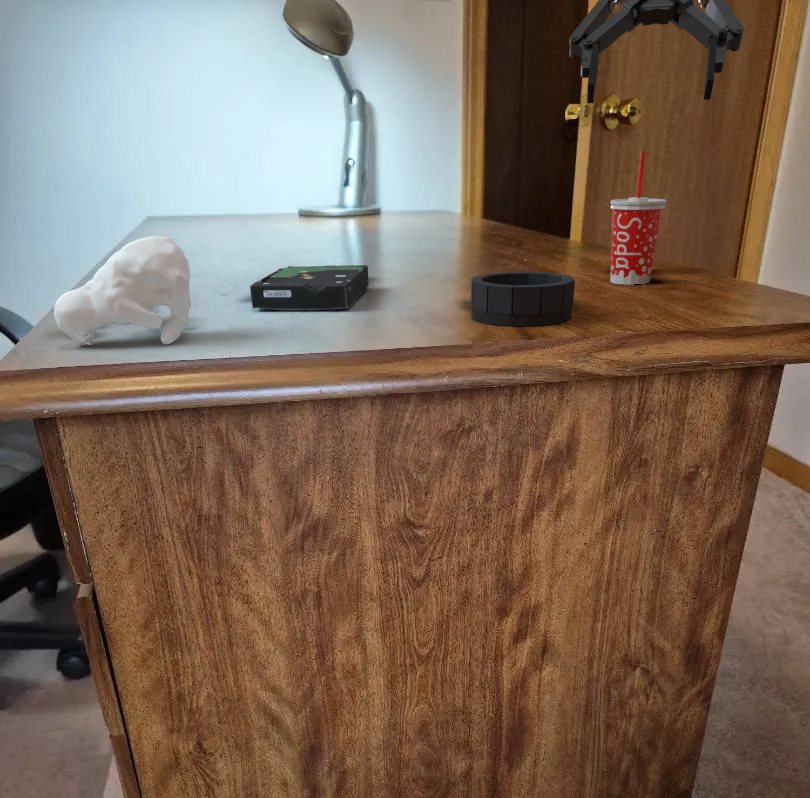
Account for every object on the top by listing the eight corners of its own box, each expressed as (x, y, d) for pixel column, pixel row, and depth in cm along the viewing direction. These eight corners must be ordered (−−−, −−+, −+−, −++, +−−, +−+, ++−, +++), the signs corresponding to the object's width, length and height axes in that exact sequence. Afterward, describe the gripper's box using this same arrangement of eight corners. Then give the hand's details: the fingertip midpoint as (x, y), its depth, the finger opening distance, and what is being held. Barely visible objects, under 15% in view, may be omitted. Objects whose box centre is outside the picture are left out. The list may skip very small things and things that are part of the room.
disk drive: (350, 313, 81) (369, 287, 94) (348, 284, 80) (368, 263, 93) (251, 313, 82) (284, 288, 95) (248, 285, 81) (282, 263, 94)
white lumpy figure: (183, 235, 65) (30, 258, 62) (207, 338, 69) (64, 364, 66) (179, 229, 70) (39, 250, 68) (202, 325, 74) (69, 348, 72)
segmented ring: (592, 318, 75) (595, 280, 73) (508, 330, 71) (509, 290, 69) (531, 304, 82) (533, 268, 81) (452, 314, 78) (452, 277, 77)
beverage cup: (592, 281, 95) (603, 151, 89) (628, 276, 98) (641, 150, 91) (631, 287, 90) (645, 151, 84) (667, 282, 93) (684, 150, 87)
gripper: (760, -16, 101) (753, 114, 95) (562, -3, 107) (544, 120, 101) (774, -77, 94) (768, 59, 88) (562, -60, 100) (542, 69, 94)
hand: (648, 92), depth 94 cm, fingers open, 13 cm apart
